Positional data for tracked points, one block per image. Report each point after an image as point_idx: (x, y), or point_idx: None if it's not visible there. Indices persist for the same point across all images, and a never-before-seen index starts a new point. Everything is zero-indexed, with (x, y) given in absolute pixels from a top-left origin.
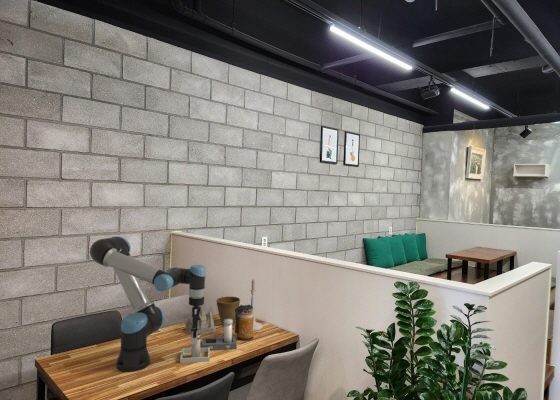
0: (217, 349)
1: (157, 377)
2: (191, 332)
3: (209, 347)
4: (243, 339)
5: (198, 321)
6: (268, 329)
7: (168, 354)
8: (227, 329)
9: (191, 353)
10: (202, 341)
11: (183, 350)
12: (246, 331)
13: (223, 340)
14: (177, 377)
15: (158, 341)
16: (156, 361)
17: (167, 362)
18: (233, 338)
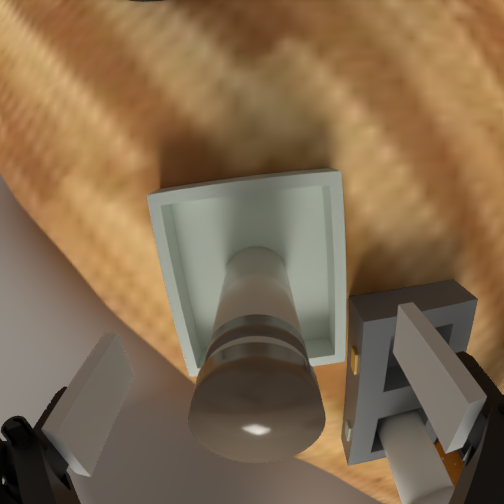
0: (349, 383)
1: (27, 112)
2: (221, 368)
3: (343, 360)
4: None
5: (444, 448)
6: None
7: (331, 73)
8: (400, 488)
9: (237, 264)
10: (424, 312)
11: (316, 185)
12: None
13: None
14: (32, 214)
15: (495, 19)
16: (214, 22)
17: (197, 93)
18: None
